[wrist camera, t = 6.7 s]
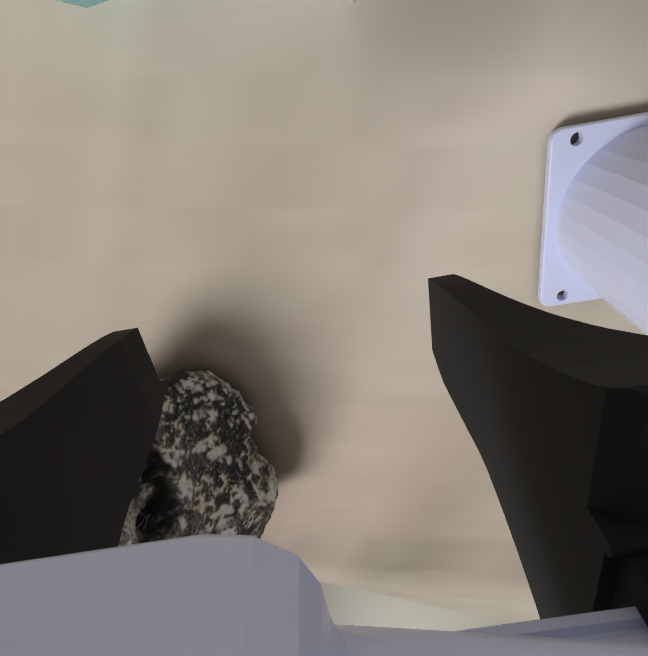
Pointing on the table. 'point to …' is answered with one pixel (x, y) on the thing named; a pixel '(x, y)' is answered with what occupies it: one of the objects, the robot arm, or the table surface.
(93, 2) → the teal slab
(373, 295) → the table surface
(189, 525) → the rock
